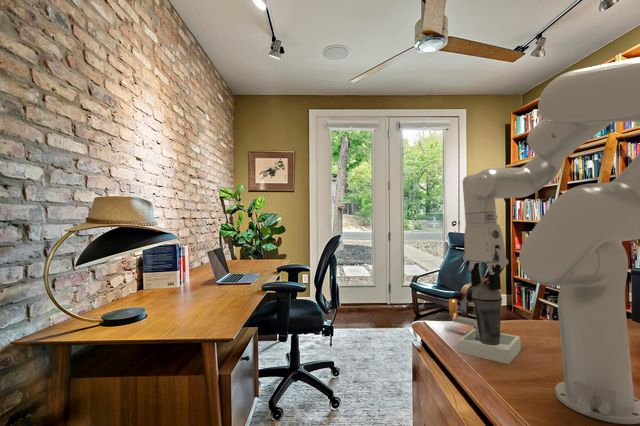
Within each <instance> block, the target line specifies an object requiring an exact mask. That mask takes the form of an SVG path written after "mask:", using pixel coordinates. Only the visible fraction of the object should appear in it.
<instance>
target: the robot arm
mask: <svg viewBox="0 0 640 426" xmlns="http://www.w3.org/2000/svg"><path fill="white" fill-rule="evenodd" d="M537 110H538V113H539V115H540V116H541V118H543V119H542V120H541V121H540V122H539V123H537V125H535V126H534V127H533V128H532V129H531V130H529V133H528V134H527V144H528V146H529V148H530V150H531V151H532V152H533V154H535V155H534V157H533V158H532V159H530V160H529V161H528V162H527V163H525V164H524V165H522V166H520V167H489V168H486V169H483V170H482V171H479V172H477V173H474V174H469V175H467V176H464V177H463V179H462V193H463V205H464V206H463V207H464V219H465V222H464V223H465V227H464V238H463V239H464V240H463V241H464V243H463V245H464V247H463V248H464V254H463V256H462V259H463V261H464V262H465V264H466V265H467V267H468V271H469V272H470V282H471V283H470V285H471V286H472V287H475V286H476V285H478V284H479V283H481V278H480V273H479V268H478V266H480V267H481V266H482V265H481V264H484V263H485V264H486V266H487V269H488V273H489V274H487V281H488V282H487V283H488V284H489V290H499V291H501V289H502V283H501V274H502V273H503V270H504V269H505V267H506V266H507V265H508V264H509V260H508V258H507V257H506V247H505V241H504V235H503V232H502V228H501V226H500V224H498V215H497V209H496V208H497V206H496V199H514V198H515V199H518V198H519V199H520V198H521V199H522V198H525V197H528V196H530V195H532V194H535V193H536V192H538V191H540V190H541V189H543V188H544V187H545V186H547V185H548V184H550V183H551V182H552V181H553V180H555V178H556V177H557V176H558V175H559V173H560V171H561V169H562V167H563V165H564V160H565V158H567V157H569V155H570V154H572V153H573V152H575V151H576V150H578V149H579V148H580V147H581V146H583V145H584V144H586V142H588V141H589V140H591V139H593V137H595V136H596V135H597V134H599V133H600V132H602V131H603V130H604V129H607V127H609V126H610V125H611V124H612V123H617V122H625V123H627V122H630V123H632V122H633V123H634V122H636V123H637V122H638V123H640V56H637V57H632V58H627V59H623V60H619V61H618V60H617V61H613V62H609V63H603V64H598V65H593V66H589V67H583V68H579V69H574V70H570V71H567V72H564V73H563V74H561V75H559V76H557V77H555V78H554V79H553V80H552V81H550V82H549V83H548V84H547V85H546V86H545V88H544V89H543V90H542V92H541V94H540V96H539V98H538V103H537ZM634 240H635V241H636V240H640V152H639V153H637V154H636V156H635V157H634V158H633V159H632V160H631V162H630V163H629V164H628V166H627V167H625V169H624V170H623V171H622V172H621V173H619V175H618V176H617V177H615V178H614V179H613V180H612V181H611V180H610V181H609V182H600V183H599V182H596V183H585V184H581V185H580V184H579V185H577V186H573V187H572V188H570V189H568V190H567V191H564V192H563V193H561V195H559V196H558V197H557V198H556V199H555V200H554V201H553V203H552V204H551V205H550V206H549V207H548V209H547V210H546V212H544V214H543V215H542V217H540V219H539V221H537V223H536V225H535V226H534V227H533V228H532V230H531V231H530V233H529V234H528V235H527V237H526V238H525V239H524V241H523V243H522V245H521V247H520V251H519V257H518V258H519V264H520V266H519V267H520V268H521V270H522V272H523V273H524V275H525V276H526V277H527V278H528V279H530V280H531V281H532V282H535V283H536V284H539V285H543V286H548V287H558V286H560V289H559V292H558V298H557V309H558V310H557V312H558V314H557V315H558V323H559V324H558V325H559V336H560V346H561V347H560V349H561V350H560V351H561V360H562V371H563V372H562V373H563V380H564V381H561V382H558V383H557V384H556V385H555V387H554V394H555V396H556V398H557V399H558V400H559V402H561V403H562V404H563V405H565V406H566V407H567V408H569V409H571V410H573V411H575V412H577V413H578V414H581V415H584V416H587V417H589V418H592V419H595V420H599V421H601V422H602V421H603V422H608V423H612V424H620V425H637V424H640V400H639V399H638V398H637V397H635V395H634V384H633V374H632V364H631V355H630V353H631V352H630V343H629V334H628V333H629V331H628V323H627V321H628V320H627V311H626V285H627V284H626V283H627V278H628V270H629V269H628V268H629V260H628V259H629V258H628V257H629V256H628V255H627V254H628V253H627V251H626V249H625V247H624V246H623V244H622V243H621V242H627V241H628V242H629V241H634ZM481 272H482V270H481ZM482 273H483V272H482Z"/></svg>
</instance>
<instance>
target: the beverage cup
mask: <svg viewBox="0 0 640 426" xmlns="http://www.w3.org/2000/svg"><path fill="white" fill-rule="evenodd" d="M478 268H479V273H480V278H481V283H479V284H478V285H476V286H473V288H472V292H471V296H470V297H471V300H472V304H473V307H474V313H475V320H477V326H478V332H479V336H480V342H481V343H483V344H486V345H499V344H500V333H501V307H502V302H503V298H502V294H501V292H500V291H501V290H489V284H488V282H484V278H483V272H481V271H482V268H481V266H478Z"/></svg>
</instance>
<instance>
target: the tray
mask: <svg viewBox="0 0 640 426" xmlns="http://www.w3.org/2000/svg"><path fill="white" fill-rule="evenodd" d="M469 331H470V332H468V331H467V332H468V333H467V332H466V333H467V334H466V333H465V334H464V335H463V336H462V337H460V338H459V339H458V349H459V350H458V352H459V354H460V353H461V354H463V355H468V356H471V357H472V356H473V357H476V358H480V359H485V360H488V361H492V362H497V363H501V364H506V365H511V363H512V361H513V360H514V359H515V358H516V357H517V356H518V354H519V353H520V352H521V350H522V345H521V344H522V343H521V336H518V335H513V334H508V333H507V334H506V333H502V332H500V344H499V345H486V344H483V343H481V342H480V341H477V340H475V338H476V337H478V338H480V336H479V332H478V329H475V328H473V329H471V330H469Z"/></svg>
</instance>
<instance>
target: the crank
mask: <svg viewBox="0 0 640 426" xmlns="http://www.w3.org/2000/svg"><path fill="white" fill-rule="evenodd" d="M448 306H449V307H448V309H449V317H451V322H453V323H458V324H462V325H466V326H471V327H473V329H478V326H477V320H476V318H475V319H473V318H468V317H465V316H459V313H458V312H459V311H458V299H457V298H449V299H448Z"/></svg>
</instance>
